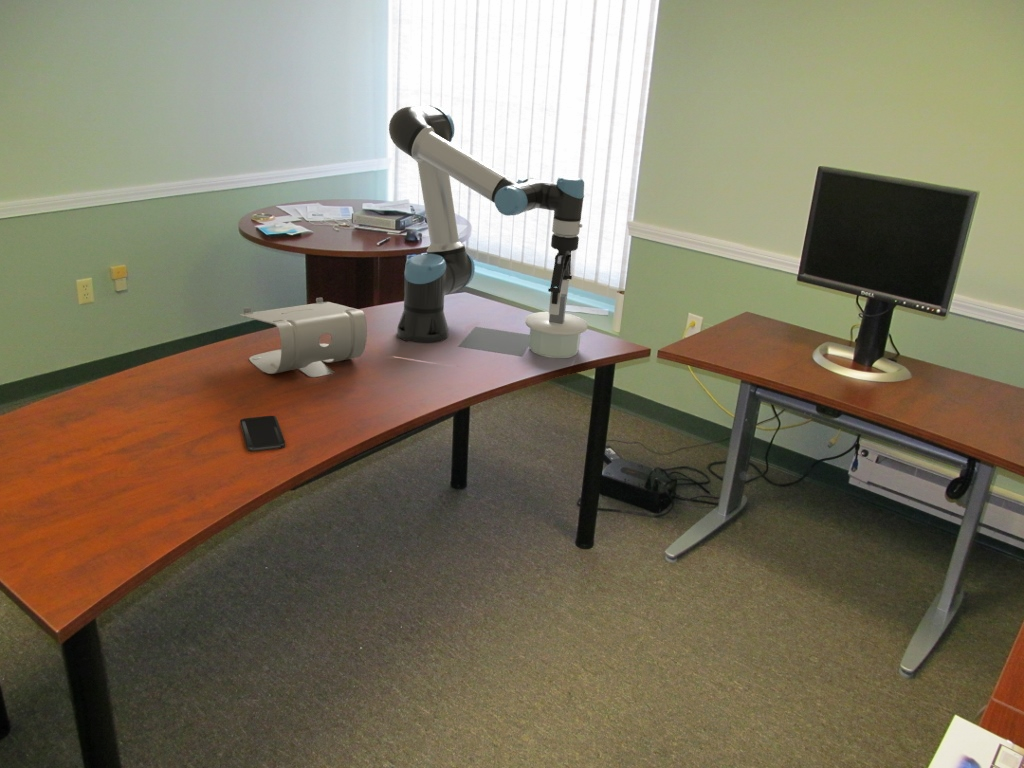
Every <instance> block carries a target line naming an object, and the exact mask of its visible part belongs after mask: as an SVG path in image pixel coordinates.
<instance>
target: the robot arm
mask: <svg viewBox="0 0 1024 768" xmlns="http://www.w3.org/2000/svg"><path fill="white" fill-rule="evenodd" d="M388 130H389V131H388V133H389V136H390V139H391V141H392V143H393V144H394V145H395V147H397V149H399V150H401V151H402V152H404V153H405V154H406V155H408V156H409V157H411V158H412V159H413V160H414V161H416V163H417V167H418V174H419V179H420V185H421V192H422V198H423V199H422V200H423V204H424V205H423V206H424V212H425V218H426V224H427V231H428V236H429V241H430V243H429V246H428V248H427V249H426V253H422V254H414V255H412V256H411V257H409V258H408V259H407V260H406V262H405V267H404V273H403V274H404V275H403V276H404V290H403V293H404V295H403V296H404V297H403V311H402V313H401V316H400V319H399V322H398V324H397V331H396V333H397V334H396V335H397V337H398V338H400V339H401V340H403V341H405V342H410V343H417V344H434V343H439V342H442V341H445V340H447V339H448V337H449V327H448V323H447V319H446V316H445V312H444V311H445V310H444V309H445V308H444V307H445V306H444V305H445V296H446V295H447V296H448V295H449V294H452V293H454V292H457V291H460V290H462V289H464V288H465V287H466V286H468V285H469V284H470V283H471V281H472V280H473V278H474V276H475V272H476V271H475V269H476V268H475V262H474V259H473V257H472V256H471V255H470V254H469V253H468V252H467V251H466V245H465V244H464V243H463V242H461V241H460V239H459V233H458V227H457V226H458V225H457V220H456V213H455V207H454V205H455V204H454V200H453V193H452V192H453V191H452V186H451V179H450V177H451V178H453V179H454V180H456V181H458V182H460V183H461V184H462V185H465V187H468V188H469V189H470V190H473V191H475V192H476V193H478V194H479V195H480V196H482V197H484V198H485V199H487V200H489V201H490V202H492V203H493V204H494V206H495V207H496V210H497V211H498V212H499V213H500V214H501V215H504V216H516V215H517V216H518V215H520V214H522V213H525V212H528V211H532V210H535V209H542V210H548V211H553V219H552V228H551V232H552V235H551V242H550V247H552V249H554V250H557V251H558V252H557V253H556V254H555V257H554V264H553V265H554V266H553V271H552V277H551V281H550V288H548V291H547V292H549V293H550V296H549V307H548V312H549V314H553V315H559V307H560V297H561V294H567V295H569V294H568V292H569V286H570V285H569V283H570V280H572V279H573V275H571V274H572V273H571V270H572V268H571V267H572V252H574V251H576V250H578V249H579V248H578V247H579V241H580V237H579V234H580V228H583V224H582V223H581V220H582V212H583V204H584V203H583V202H584V198H585V194H584V193H585V181H584V180H583V179H582V178H580V177H577V176H568V175H567V176H566V175H562V176H559V177H558V178H557V180H556V182H553V181H547V180H546V181H545V180H540V179H536V178H535V179H534V178H533V177H532V178H531V177H528V178H527V177H526V178H525V177H520V178H519V179H518V180H517V181H516V182H515V180H512V179H510V178H509V177H508V176H506V175H505V174H503V173H502V172H499V171H498V170H496V169H494V168H492V167H491V166H489V165H487V164H486V163H485V162H483V161H481V160H479V159H478V158H476V157H475V156H473V155H471V154H470V153H468V152H466V151H464V150H463V149H461V148H459V146H456V145H455V144H453V143H451V142H452V140H453V138H454V135H455V124H454V120H453V119H452V116H451V115H450V113H448V111H446V110H445V109H444V108H443V107H440V106H435V105H421V106H420V105H419V106H406V107H405V106H404V107H402V108H400V109H398V110H397V111H396V112H394V114H393V115H392V117H391V118H390V121H389V125H388ZM567 301H568V299H567V300H566V303H567Z"/></svg>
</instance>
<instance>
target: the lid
mask: <svg viewBox="0 0 1024 768" xmlns="http://www.w3.org/2000/svg"><path fill="white" fill-rule="evenodd" d="M566 300H567V301H568V294H561V297H560V307H559V315H553V314H549V311H538V312H533V313H530V314H528V315H526V317H525V323H524V324H525V325H526V326H527V327H528V328H529V329H530V328H531V329H533V330H535V331H538V332H542V333H546V334H552V335H576V334H580V333H581V334H583V333H584V332H585V333H586V331H587V330H588V326H589V324H588V322H587V321H586V320H585V319H583V318H582V317H579V316H577V315H574V314H571V313H566V307H567V302H566Z"/></svg>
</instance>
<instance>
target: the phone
mask: <svg viewBox="0 0 1024 768" xmlns="http://www.w3.org/2000/svg"><path fill="white" fill-rule="evenodd" d="M240 427H241V431H242V436H243V438H244V439H243V440H244V443H245V448H246V450H247V451H248V452H252V453H253V452H262V451H263V452H264V451H271V450H273V451H274V450H279V449H280V450H281V449H284V448H285V447H286V441H285V438H284V435H283V431H282V428H281V426H280V424H279V421H278V417H277V416H275V415H266V416H265V415H264V416H255V417H244V418H241V419H240Z"/></svg>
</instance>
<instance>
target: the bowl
mask: <svg viewBox="0 0 1024 768" xmlns="http://www.w3.org/2000/svg"><path fill="white" fill-rule="evenodd" d="M529 335H530V338H529V346H528V348H529V349H530V351H531V352H532V353H534V354H536V355H538V356H541V357H545V358H551V359H568V358H572V357H574V356H577V355H578V351H579V348H580V342H581V335H582V333H580V334H576V335H552V334H546V333H542V332H538V331H535V330H533V329H531V328H529Z"/></svg>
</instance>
